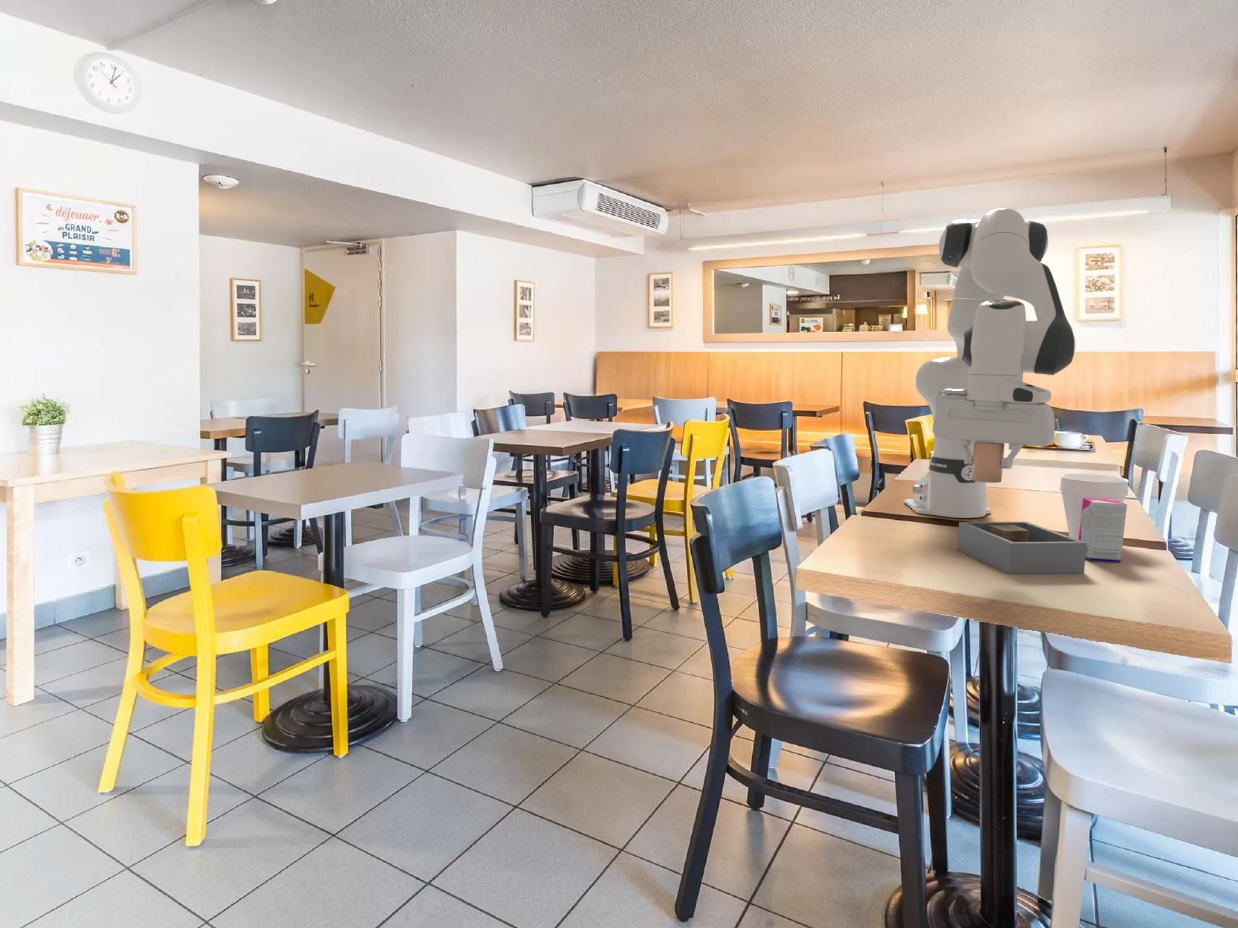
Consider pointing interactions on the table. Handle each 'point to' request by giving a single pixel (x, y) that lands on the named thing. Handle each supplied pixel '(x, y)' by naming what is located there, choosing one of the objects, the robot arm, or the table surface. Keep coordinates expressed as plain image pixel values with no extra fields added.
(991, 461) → the cylinder
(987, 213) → the robot arm
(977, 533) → the tote
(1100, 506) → the supplement box
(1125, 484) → the cup
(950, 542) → the table surface
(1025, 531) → the block
